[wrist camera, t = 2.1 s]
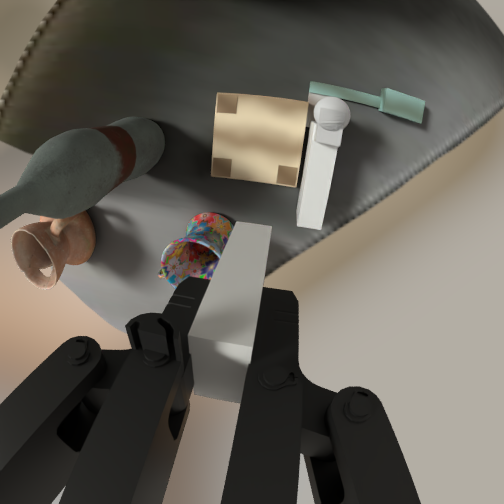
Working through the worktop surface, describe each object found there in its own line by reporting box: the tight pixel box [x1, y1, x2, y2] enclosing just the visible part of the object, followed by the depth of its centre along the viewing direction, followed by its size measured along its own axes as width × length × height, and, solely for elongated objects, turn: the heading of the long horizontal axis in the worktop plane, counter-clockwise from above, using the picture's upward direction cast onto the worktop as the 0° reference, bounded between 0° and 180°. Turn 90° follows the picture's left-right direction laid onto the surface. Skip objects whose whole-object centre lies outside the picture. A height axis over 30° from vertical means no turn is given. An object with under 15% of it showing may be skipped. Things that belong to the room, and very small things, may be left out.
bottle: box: [0, 117, 165, 229], centre depth 26 cm, size 9×9×30 cm
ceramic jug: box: [11, 210, 96, 290], centre depth 42 cm, size 18×14×14 cm
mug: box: [158, 212, 234, 289], centre depth 41 cm, size 12×9×11 cm
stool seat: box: [211, 81, 425, 187], centre depth 32 cm, size 16×28×7 cm, turn 84°
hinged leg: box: [296, 97, 350, 230], centre depth 33 cm, size 17×4×8 cm, turn 174°
